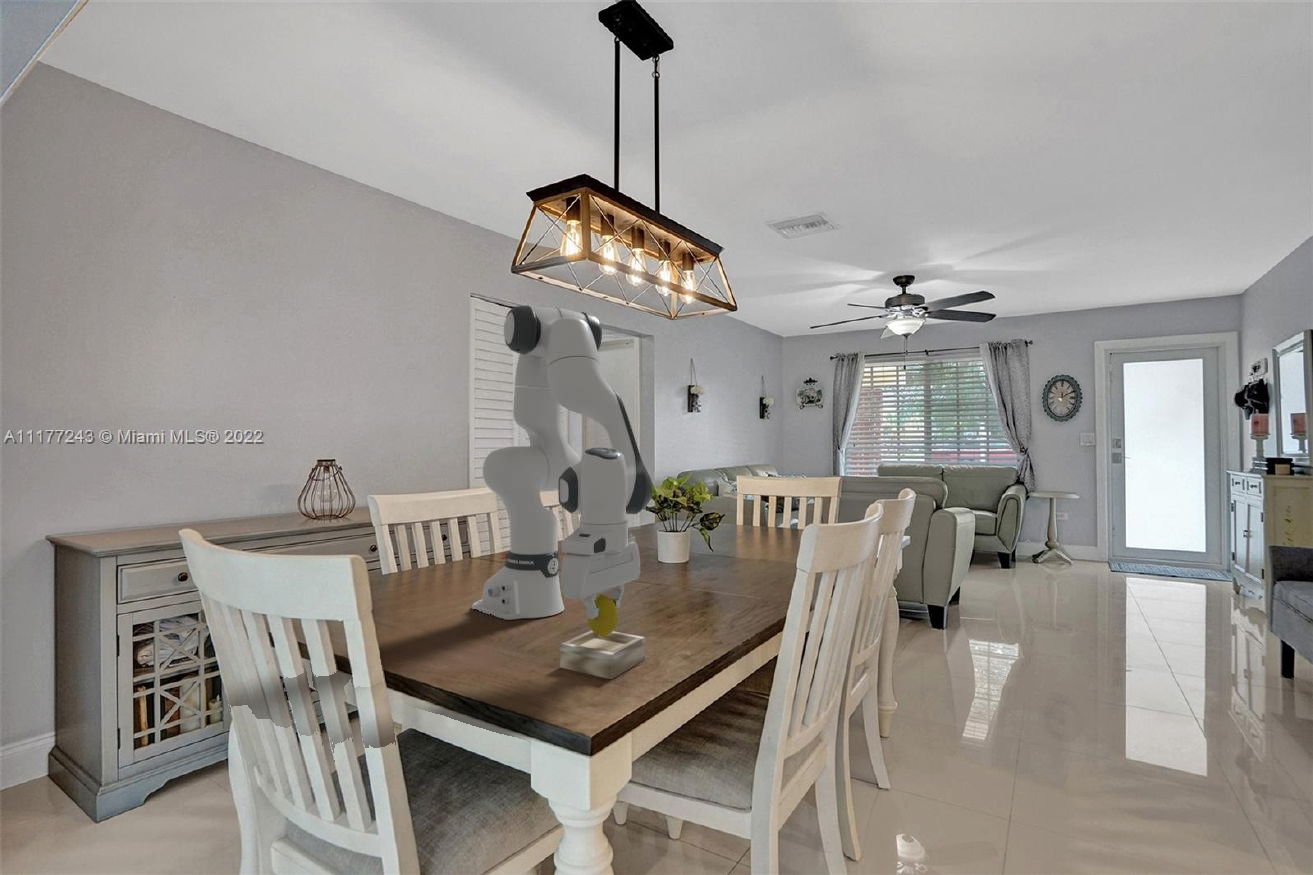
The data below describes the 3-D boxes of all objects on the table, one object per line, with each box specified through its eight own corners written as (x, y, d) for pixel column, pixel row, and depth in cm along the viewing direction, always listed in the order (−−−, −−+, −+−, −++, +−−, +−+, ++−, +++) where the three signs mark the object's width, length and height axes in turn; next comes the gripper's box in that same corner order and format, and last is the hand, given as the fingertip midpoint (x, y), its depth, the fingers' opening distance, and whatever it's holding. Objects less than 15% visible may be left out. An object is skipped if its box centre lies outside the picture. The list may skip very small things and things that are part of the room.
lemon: (619, 631, 119) (616, 589, 118) (619, 641, 113) (615, 597, 113) (590, 634, 118) (586, 591, 118) (588, 644, 113) (584, 600, 113)
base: (560, 667, 114) (560, 643, 114) (596, 649, 123) (596, 628, 123) (611, 679, 108) (611, 654, 108) (644, 659, 117) (644, 637, 117)
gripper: (620, 529, 126) (620, 598, 126) (554, 543, 108) (554, 624, 108) (648, 531, 123) (648, 602, 123) (584, 547, 105) (584, 630, 105)
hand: (603, 613), depth 115 cm, fingers closed on lemon, 5 cm apart
